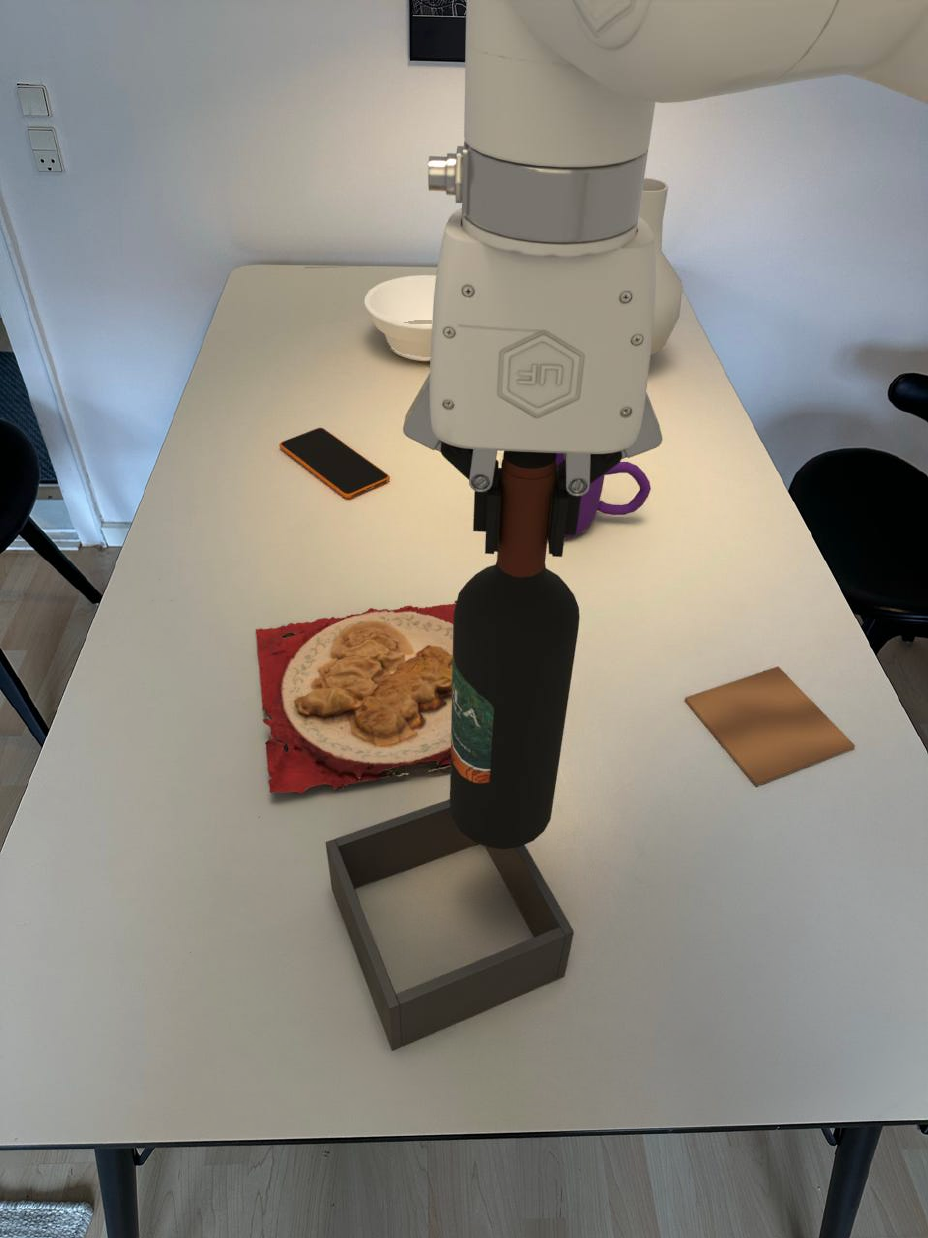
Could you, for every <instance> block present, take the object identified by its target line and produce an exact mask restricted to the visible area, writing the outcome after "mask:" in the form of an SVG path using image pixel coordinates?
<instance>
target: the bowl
mask: <svg viewBox="0 0 928 1238" xmlns="http://www.w3.org/2000/svg"><path fill="white" fill-rule="evenodd" d="M435 282H436V274H420V275H419V274H418V275H408V276H400V277H397V278H392V279H388V280H386V281H382V282H380V283H379V284H376V285H375V286H373V287H372V288H370V289H369V290H368V291H367V293H366V295H365V297H364V300H363V302H364V303H363V304H364V306H365V309H366V311H367V313H368V315H369V317H370V319H371V321H372V322H373V325H374V326H375V327H376V329H377V330H378V331H380V332H381V333H382V334H384V336H385V339H386V342H387V344H388V343H389V345H390V346H391V347H393V348H394V349H395V350H397V351H399V352H401V353H403V354H410V355H415V356H421V357H431V337H432V324H409V323H404V322H408V321H414V320H432V319H433V303H434V292H435ZM389 345H388V346H389ZM390 350H391V351H392V352H393V353H395V354H396V355H397V356H400V357H402V358H406V359H409V360H413V361H417V362H418V361H420V362H430V360H418V359H413V358H408V357H405V356H402V355H400V354H398V353H396V352H395V351H393V350H392V349H391V348H390Z"/></svg>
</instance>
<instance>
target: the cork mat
mask: <svg viewBox="0 0 928 1238" xmlns="http://www.w3.org/2000/svg"><path fill="white" fill-rule="evenodd" d="M684 702H685V703H686V704H687V705H688V707H689V708H690V709H691V710H692V712H693V713H694V714H695V715H696V717H698V719H699V720H700V721H701V722H702V723H703V725H704V726H705V728H706V729H707V730H708V731H709V732H710V733H711V734H712V736H713V737H714V738H715V739H716V741H718V743H719V744H720V745H721V747H722V748H723V749H724V750H725V751H726V752H727V755H729V756H730V757H731V759H732V760H733V761H734V762H735V763H736V764H737V766H738V767H739V768H740V769H741V771H742V772H743V773H744V774H745V775H746V777H747V778H748V779H749V780H750V781H751V783H752V784H753V785H754V786H755V787H758V786H762V785H764V784H767V783H769V782H772V781H774V780H777V779H780V778H782V777H785V776H788V775H790V774H793V773H795V772H798V771H801V770H803V769H805V768H808V767H810V766H813V765H815V764H818V763H821V762H824V761H826V760H829V759H831V758H832V759H833V758H834V757H836V756H840V755H842V754H845V753H847V752H850V751H852V750H854V749H855V748H856V745H855V743H853V742H852V741H851V739H849V738H848V736H847V735H845V734H844V732H843V731H842V730H841V729H840V728H839V727H838V726H837V725H836V724H835V723H834V722H833V721H832V720H831V719H830V718H829V717H828V716H827V715H826V714H825V713H824V712H823V710H821V709H820V707H818V705H817V704H816V703H815V702H814V701H813V700H812V699H811V698H810V697H809V696H808V695H807V694H806V693H805V692H804V691H803V690H802V689H801V688H800V687H799V685H797V684H796V683H795V682H794V681H793V680H792V679H791V678H790V676H788V674H786V673H785V672H784V670H782V668H781V667H780V666H775V667H773V668H769V669H766V670H763V671H760V672H756V673H753V674H751V675H749V676H745V677H742V678H739V679H736V680H734V681H730V682H728V683H724V684H721V685H718V686H716V687H712V688H710V689H706V690H704V691H700V692H697V693H694V694H691V695H689V696H686V697H685V698H684Z"/></svg>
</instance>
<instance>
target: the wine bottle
mask: <svg viewBox="0 0 928 1238" xmlns="http://www.w3.org/2000/svg"><path fill="white" fill-rule="evenodd" d="M500 465H501V466H500V468H501V479H500V480H501V483H502V485H501V509H500V526H499V543H498V552H496V553H497V555H496V561H495V564H492V565H489V566H487V567H485V568H483V569H482V570H480V571H479V572H477V573H475V574H474V575H473V576H472V577H471V578H470V579H469V580H468V581H467V582H466V583H465V585H463V587H462V588H461V589H460V591H458V595H457V599H456V600H457V602H456V603H455V604H456V606H455V610H454V615H453V664H452V716H451V768H449V771H450V773H449V774H450V776H449V777H450V778H449V782H450V783H449V799H450V809H451V814H452V818H453V820H454V822H455V823H456V825H457V827H458V829H459V830H460V831H461V832H462V833H463V834H465V835H466V836H467V837H468V838H469V839H470V840H472V841H474V842H476V843H479V844H478V845H481V846H483V847H485V848H486V847H491V848H497V849H509V848H517V847H521V846H523V845H525V846H526V845H528V844H530V843H532V842H534V841H535V840H536V839H537V838H539V837H540V836H541V835H542V834H543V833H544V832H546V829H547V827H548V826H549V823H550V822H551V820H552V814H553V807H554V800H555V793H556V785H557V779H558V773H559V766H560V760H561V752H562V745H563V737H564V731H565V724H566V717H567V710H568V703H569V696H570V690H571V683H572V677H573V670H574V662H575V655H576V649H577V643H578V642H577V641H578V636H579V628H580V627H579V626H580V607H579V603H578V601H577V599H576V596H575V594H574V592H572V590H571V589H570V587H569V586H568V584H567V583H566V582H565V581H564V580H563V579H562V578H561V577H560V576H559V574H557V573H556V572H554V571H552V570H550V569H549V568H547V566H546V558H547V548H548V530H549V521H550V511H551V502H552V492H553V486H554V484H555V477H556V467H557V465H556V453H544V452H520V451H503V453H502V459H501V463H500Z"/></svg>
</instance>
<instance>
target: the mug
mask: <svg viewBox="0 0 928 1238" xmlns="http://www.w3.org/2000/svg"><path fill="white" fill-rule="evenodd" d="M563 460H564V453H556V465H559V463H561V462H562V461H563ZM556 470H557V467H556ZM615 474H628V475H630V476H631V477H632V478H633V479H634V480H635V482H636V483H637V485H638V487H639V490H638V492H637V493H636V495H635V496H634V497H633V498H632V499H631V500H630V501H629V502H627V503H623V504H615V503H614V504H613V503H608V502H606V501H603V500H601V497H602V492H603V487H604V481H605V476H608V475H615ZM651 490H652V486H651V482H650V480H649V478H648V476H647V475H646V473H645V472H644V471H643V470H642V469H641V468H640V467H639V466H638V464H637V465H636V464H634V463H632V462H630V461H620V462H619V463H618V464H617V465H616V466H614V467H613V468H612V469H610V470H609V471H607V472H606V473H605V474H603V475H602V476H601V477H599V478H598V479H596V480H595V481H594V482H592V483H591V484H590V487H589V490H588V492H587V493H586V494H584V495H582V496H581V501H580V509H579V517H578V524H577V532H576V535H565V537H564V540H565V539H570V538H574V537H576V536H579V535H581V534H583V533H584V532H586V530H588V529H589V527H590V526H591V525H592V523H593V522H594V520H595V518H596V515H597V513H598V512H599V513H602V514H606V515H609V516H625V515H629V514H632V513H635V512H636V511H637V510H638V509H640V508H641V507H642V506H643V505H644V503H645V502H646V501H647V500H648V497H649V495H650V493H651Z"/></svg>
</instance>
